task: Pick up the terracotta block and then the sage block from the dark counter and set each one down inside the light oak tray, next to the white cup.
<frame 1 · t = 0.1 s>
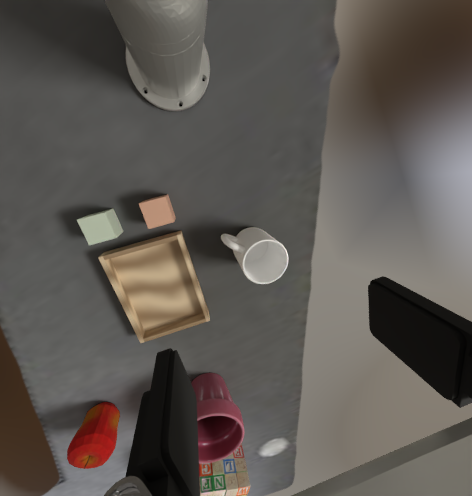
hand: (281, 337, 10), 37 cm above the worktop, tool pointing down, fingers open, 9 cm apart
cup: (243, 241, 48), on the worktop
oak tray: (161, 284, 47), on the worktop
stack of blocks: (202, 442, 65), on the worktop
sage block: (106, 223, 42), on the worktop
apple: (105, 408, 54), on the worktop
terracotta block: (160, 209, 43), on the worktop
plant pot: (206, 385, 58), on the worktop
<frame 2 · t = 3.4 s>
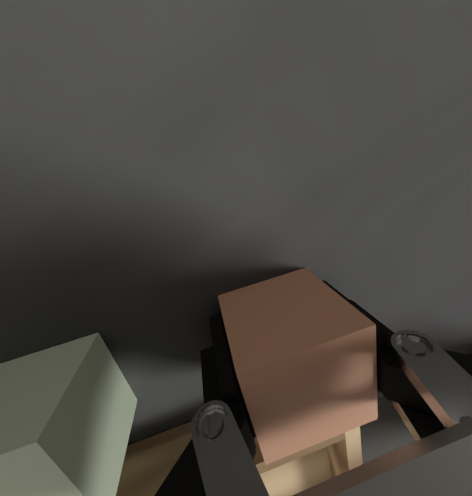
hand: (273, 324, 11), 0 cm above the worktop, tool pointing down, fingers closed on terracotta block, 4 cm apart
sage block: (71, 383, 11), on the worktop
terracotta block: (270, 318, 12), on the worktop, touching gripper
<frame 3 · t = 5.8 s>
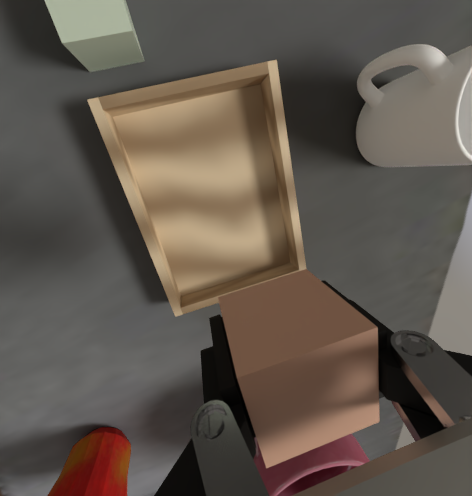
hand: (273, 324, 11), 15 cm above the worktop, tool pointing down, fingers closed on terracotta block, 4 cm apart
cup: (373, 118, 25), on the worktop
oak tray: (215, 201, 24), on the worktop
sage block: (106, 33, 18), on the worktop
apple: (106, 437, 31), on the worktop
terracotta block: (271, 320, 12), point 15 cm above the worktop, touching gripper
plant pot: (274, 395, 35), on the worktop
when the fingers open (2 cm above the worktop, at t = 8.4 s): terracotta block drops 2 cm, resting on oak tray.
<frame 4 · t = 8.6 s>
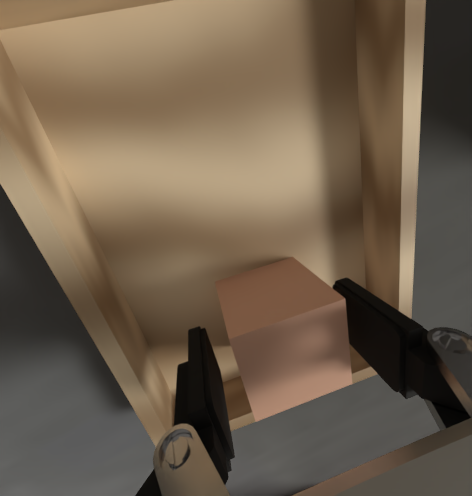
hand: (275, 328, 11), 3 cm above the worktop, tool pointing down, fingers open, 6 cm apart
oak tray: (242, 228, 12), on the worktop
terracotta block: (262, 302, 13), point 1 cm above the worktop, touching oak tray
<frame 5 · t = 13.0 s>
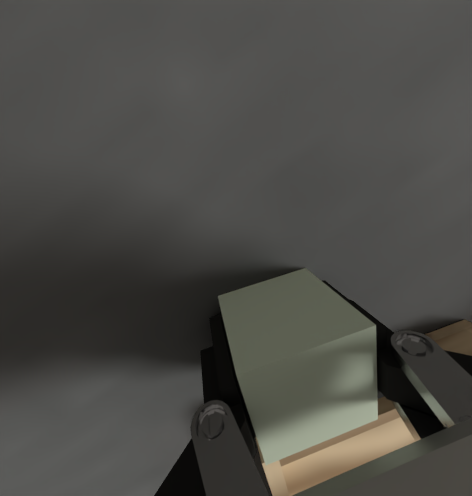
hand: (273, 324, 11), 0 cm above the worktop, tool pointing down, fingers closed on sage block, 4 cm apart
oak tray: (366, 454, 17), on the worktop
sage block: (270, 318, 12), on the worktop, touching gripper
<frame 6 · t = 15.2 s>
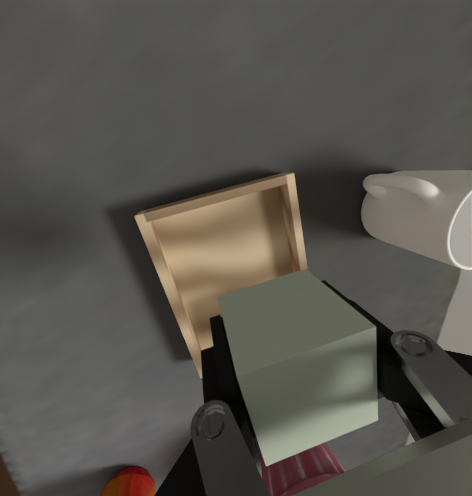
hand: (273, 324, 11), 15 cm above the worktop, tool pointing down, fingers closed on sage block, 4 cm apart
cup: (376, 199, 28), on the worktop
oak tray: (236, 275, 27), on the worktop
sage block: (270, 319, 12), point 14 cm above the worktop, touching gripper
apple: (132, 475, 34), on the worktop
plant pot: (284, 432, 38), on the worktop
when the fingers open (3 cm above the worktop, at t = 17.7 s): sage block drops 1 cm, resting on oak tray.
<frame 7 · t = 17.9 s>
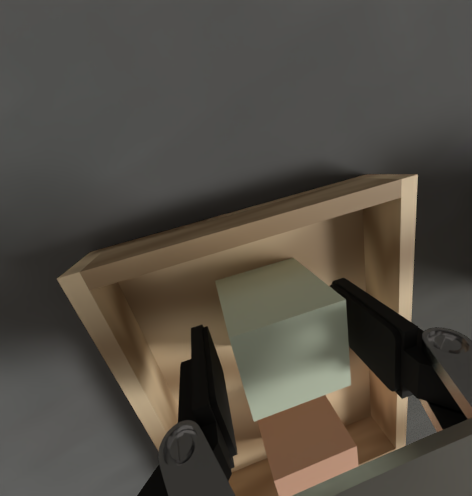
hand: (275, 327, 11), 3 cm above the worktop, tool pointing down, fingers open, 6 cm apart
oak tray: (272, 353, 15), on the worktop
sage block: (262, 303, 13), point 1 cm above the worktop, touching oak tray
terracotta block: (286, 406, 16), point 1 cm above the worktop, touching oak tray
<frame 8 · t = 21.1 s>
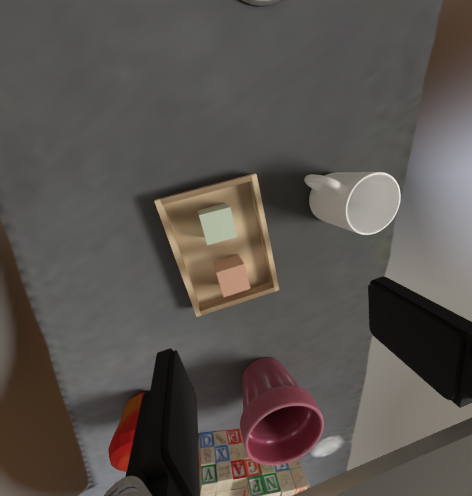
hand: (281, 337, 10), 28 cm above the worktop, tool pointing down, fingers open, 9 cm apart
cup: (320, 192, 39), on the worktop
oak tray: (221, 245, 38), on the worktop
stack of blocks: (242, 435, 55), on the worktop
sage block: (215, 220, 36), point 1 cm above the worktop, touching oak tray
apple: (146, 399, 45), on the worktop
terracotta block: (229, 269, 39), point 1 cm above the worktop, touching oak tray
plant pot: (262, 372, 49), on the worktop
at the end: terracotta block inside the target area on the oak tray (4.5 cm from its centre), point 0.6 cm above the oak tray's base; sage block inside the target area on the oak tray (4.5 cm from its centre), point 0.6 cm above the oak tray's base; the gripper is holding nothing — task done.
